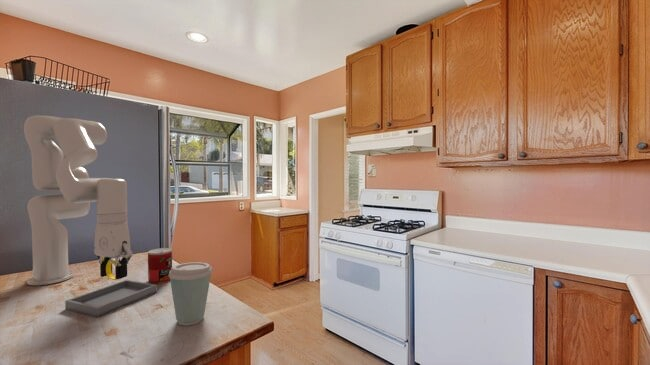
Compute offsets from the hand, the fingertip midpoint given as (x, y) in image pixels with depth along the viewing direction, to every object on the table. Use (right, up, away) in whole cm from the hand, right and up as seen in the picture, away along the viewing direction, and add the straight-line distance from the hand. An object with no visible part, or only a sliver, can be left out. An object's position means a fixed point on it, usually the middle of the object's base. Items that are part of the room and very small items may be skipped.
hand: (113, 276), depth 89 cm
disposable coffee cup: (+30, -8, -12) cm, 33 cm away
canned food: (+4, -7, +18) cm, 20 cm away
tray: (0, -8, 0) cm, 8 cm away
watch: (0, -1, 0) cm, 1 cm away
